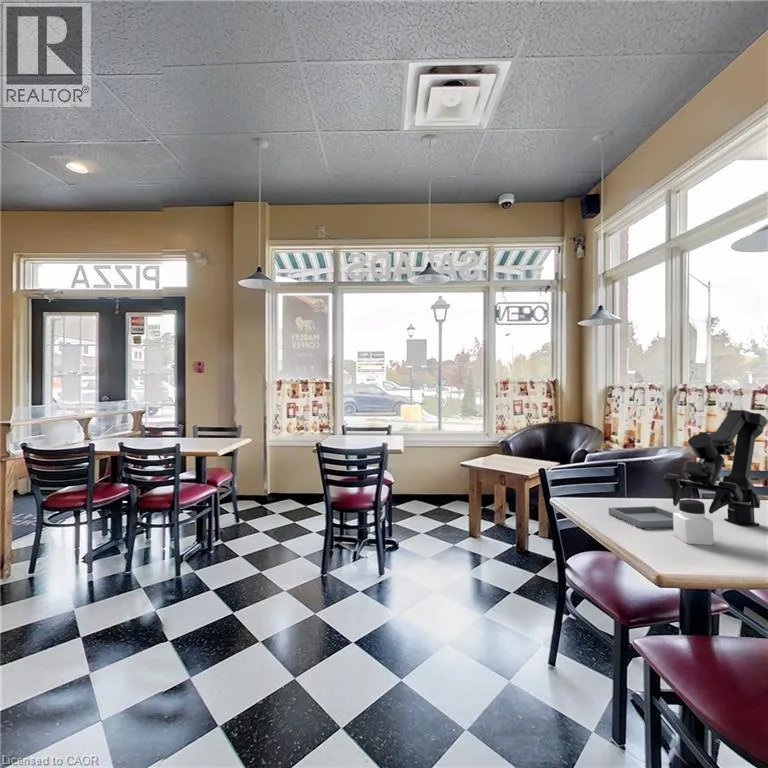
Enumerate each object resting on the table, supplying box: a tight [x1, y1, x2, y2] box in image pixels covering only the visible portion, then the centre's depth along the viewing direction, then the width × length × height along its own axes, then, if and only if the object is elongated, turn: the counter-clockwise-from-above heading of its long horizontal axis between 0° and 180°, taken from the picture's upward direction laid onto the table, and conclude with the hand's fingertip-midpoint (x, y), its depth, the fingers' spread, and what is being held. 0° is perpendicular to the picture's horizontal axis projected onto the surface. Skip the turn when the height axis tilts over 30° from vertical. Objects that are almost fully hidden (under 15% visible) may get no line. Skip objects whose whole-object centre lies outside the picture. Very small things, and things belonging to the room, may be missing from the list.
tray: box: [608, 505, 674, 529], centre depth 135 cm, size 18×16×2 cm
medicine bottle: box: [672, 498, 715, 546], centre depth 116 cm, size 7×7×12 cm
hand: (691, 508), depth 116 cm, fingers open, 9 cm apart
